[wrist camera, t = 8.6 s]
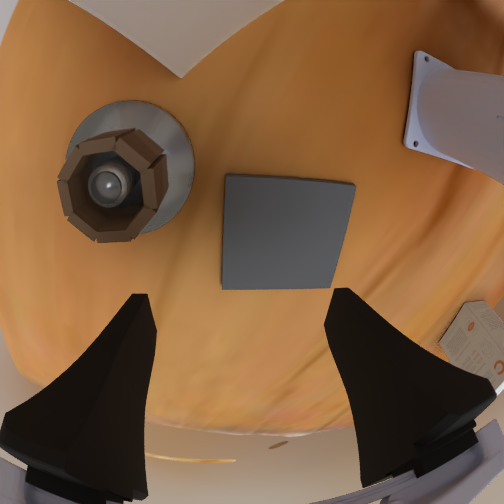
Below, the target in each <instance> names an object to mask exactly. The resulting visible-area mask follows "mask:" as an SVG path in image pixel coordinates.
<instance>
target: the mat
mask: <svg viewBox="0 0 504 504" xmlns="http://www.w3.org/2000/svg"><path fill="white" fill-rule="evenodd" d="M355 191H356V185H355V184H353V183H347V182H338V181H329V180H319V179H308V178H296V177H282V176H267V175H247V174H226V180H225V202H224V228H223V261H222V290H256V289H315V288H330V287H331V283H332V280H333V277H334V273H335V270H336V266H337V263H338V259H339V256H340V252H341V248H342V244H343V241H344V237H345V233H346V229H347V225H348V221H349V217H350V213H351V208H352V204H353V200H354V195H355Z"/></svg>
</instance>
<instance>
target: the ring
mask: <svg viewBox="0 0 504 504" xmlns="http://www.w3.org/2000/svg"><path fill="white" fill-rule="evenodd" d="M108 151H115V152H116V153H117V154H118V155H120V156H121V157H122V158H123V159H124V160H126V161H127V162H128V163H129V164H130V165H132V166H133V167H134V168H135V169H136V170H138V171H139V172H140V176H141V184H142V192H143V200H144V203H143V204H142V205H140V206H127V207H111V208H107V207H103V206H100V205H99V204H97V203H96V202H95V201H94V200H93V199H92V197H91V196H90V193H89V190H88V180H89V177H90V175H91V173H92V172H93V167H92V164H93V163H94V161H95V160H96V158H97V157H98V155H99V154H100V153H101V152H108ZM163 151H164V149H162V148H161V147H160V146H159V145H158V144H157V143H155V142H154V141H153V140H152V139H151V138H150V137H148V136H147V135H146V134H145V133H144V132H142V131H141V130H140V129H138V130H135V128H130V129H123V130H116V131H110V132H104V133H102V134H99V135H97V136H94V137H92V138H89V139H87V140H85V141H82V142H80V143H79V144H78V145H76V146H75V147H74V149H73V150H72V152H71V154H70V155H69V157H68V159H67V161H66V162H65V164H64V166H63V168H62V170H61V171H60V173H59V175H58V178H59V179H60V180H58V181H57V184H58V189H59V194H60V199H61V203H62V207H63V211H64V215H65V216H69V217H68V219H67V220H68V221H69V222H70V223H71V224H72V225H74V226H75V227H76V228H77V229H79V230H80V231H81V232H82V233H84V234H85V235H86V236H87V237H89V238H90V239H91V240H92V241H95V239H96V238H97V242H98V243H108V242H127V241H131V240H132V238H133V239H135V238H136V237H137V236H138V234H139V233H140V232H141V231H142V229H143V228H144V227H145V226H146V225H147V223H148V222H149V221H150V220H151V219H152V217H153V216H154V215H155V214H156V213H157V211H158V209H159V206H160V204H161V202H162V200H163V199H164V197H165V195H166V193H167V191H168V190H167V189H168V187H169V183H168V170H167V156H166V154H162V152H163Z"/></svg>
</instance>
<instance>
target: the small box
mask: <svg viewBox="0 0 504 504" xmlns="http://www.w3.org/2000/svg"><path fill="white" fill-rule="evenodd" d="M439 345H440V346H441V348H442V349H443V351H444V352H445V354H446V356H447V357H448V359H449V360H450V362H451V364H452V365H454V366H456V367H458V368H460V369H463V370H465V371H467V372H470V373H473V374H476V375H479V376H482V377H484V378H487V379H489V381H490V382H491V384H492V386H493V388H494V390H495V392H496V393H497V395H498V394H499V393H500V392H501V391H502V390H503V389H504V323H503V321H502V320H501V319H500V318H499V316H498V315H497V314H496V313H495V312H494V311H493V309H492V308H491V307H490V306H489V305H488V303H487V302H486V301H484V300H482V301H474V302H467V303H464V305H463V306H462V308H461V310H460V311H459V313H458V315H457V316H456V318H455V319H454V321H453V322H452V324H451V325H450V327H449V328H448V330H447V331H446V333H445V334H444V336H443V337H442V339H441V340H440V341H439Z"/></svg>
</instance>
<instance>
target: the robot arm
mask: <svg viewBox="0 0 504 504" xmlns="http://www.w3.org/2000/svg"><path fill="white" fill-rule="evenodd" d="M425 58H426V61H425ZM414 141H415V145H413V143H414ZM404 145H405V147H407V148H409V149H413V150H416V151H420V152H423V153H427V154H430V155H433V156H437V157H440V158H443V159H446V160H449V161H452V162H455V163H458V164H460V165H463V166H466V167H469V168H471V169H476V170H478V171H480V172H482V173H484V174H485V175H487V176H489V177H491V178H493V179H495V180H496V181H498V182H500V183H502V184H503V185H504V76H500V75H495V74H488V73H481V72H473V71H464V70H456V69H454V68H452V67H451V66H449V65H447V64H446V63H444V62H442V61H440V60H438V59H436V58H435V57H433V56H431V55H429V54H427V53H425V52H423V51H416V52H415V54H414V67H413V78H412V87H411V96H410V103H409V111H408V117H407V123H406V129H405V135H404ZM324 327H325V332H326V336H327V340H328V344H329V347H330V350H331V352H332V355H333V358H334V360H335V363H336V365H337V368H338V371H339V373H340V376H341V378H342V381H343V384H344V386H345V389H346V392H347V395H348V398H349V402H350V406H351V411H352V415H353V420H354V425H355V430H356V436H357V443H358V451H359V460H360V475H361V476H360V478H361V483H362V487H363V488H365V487H368V486H371V485H373V484H377V483H379V482H382V481H385V480H387V479H390V478H392V477H393V478H392V479H390V480H387V481H385V482H382V483H379V484H377V485H374V486H371V487H368V488H366V489H362V490H359V491H356V492H353V493H350V494H346V495H343V496H339V497H335V498H332V499H328V500H323V501H319V502H315V503H310V504H368V503H371V502H374V501H377V500H379V499H382V498H383V499H382V500H381V502H380V504H469V503H470V502H471V501H473V499H474V498H476V496H477V495H479V494H480V493H481V492H482V490H484V489H485V488H486V487H487V485H489V484H490V483H491V481H492V480H493V479H495V478H496V477H497V476H498V475H499V474H500V472H502V471H503V470H504V435H503V433H502V431H501V429H500V427H499V424H498V422H497V420H496V419H494V420H492V421H491V422H489V423H488V424H487V425H486V426H484V427H483V428H481V429H480V430H478V431H477V432H476V433H475V432H474V430H473V428H474V427H476V422H475V420H474V419H475V418H476V417H477V416H478V415H479V414H480V413H482V412H483V411H484V410H485V409H486V408H487V407H488V406H489V405H490V404H491V403H492V402H493V401H494V400H495V399H496V397H497V393H496V392H495V390H494V388H493V386H492V384H491V382H490V381H489V379H487V378H484V377H482V376H479V375H476V374H473V373H470V372H467V371H465V370H463V369H460V368H458V367H456V366H454V365H452V364H450V363H448V362H446V361H444V360H442V359H440V358H438V357H437V356H435V355H433V354H431V353H430V352H428V351H427V350H425V349H423V348H422V347H420V346H419V345H417V344H416V343H415V342H413V341H412V340H410V339H409V338H407V337H406V336H405V335H404V334H402V333H401V332H400V331H398V330H397V329H396V328H395V327H393V326H392V325H391V324H390V323H389V322H387V321H386V320H385V319H384V318H383V317H382V316H380V315H379V314H378V313H377V312H376V311H375V310H373V309H372V308H371V307H370V306H369V305H368V304H367V303H366V302H364V301H363V300H362V299H361V298H360V297H359V296H358V295H357V294H355V293H354V292H353V291H352V290H351V289H349V288H334V292H333V295H332V299H331V302H330V306H329V309H328V313H327V316H326V319H325V322H324ZM156 335H157V329H156V326H155V322H154V318H153V314H152V311H151V307H150V302H149V298H148V294H132V295H131V296H130V297H129V298H128V300H127V301H126V302H125V303H124V305H123V306H122V307H121V308H120V310H119V311H118V312H117V314H116V315H115V316H114V317H113V319H112V320H111V321H110V322H109V324H108V325H107V326H106V327H105V329H104V330H103V331H102V332H101V334H100V335H99V336H98V337H97V338H96V339H95V341H94V342H93V343H92V344H91V345H90V346H89V347H88V349H87V350H86V351H85V352H84V353H83V354H82V355H81V356H80V357H79V358H78V359H77V360H76V361H75V362H74V363H73V364H72V365H71V366H70V367H69V368H68V369H67V370H66V371H65V372H63V373H62V374H61V375H60V376H59V377H58V378H56V379H55V380H54V381H53V382H52V383H51V384H49V385H48V386H47V387H45V388H44V389H43V390H42V391H40V392H39V393H37V394H36V395H34V396H33V397H31V398H30V399H29V400H27V401H25V402H24V403H22V404H21V405H19V406H17V407H15V408H14V409H12V410H10V411H9V412H6V413H5V417H4V419H3V423H2V426H1V430H0V447H1V448H2V449H3V450H5V451H6V452H8V453H9V454H10V455H12V456H14V457H15V458H17V459H18V460H20V461H22V462H23V463H25V464H27V465H28V468H27V471H26V470H24V469H22V468H20V467H18V466H16V465H14V464H12V463H10V462H8V461H7V460H5V459H3V458H1V457H0V504H123V500H124V501H129V502H132V501H133V499H135V500H143V499H145V498H146V497H147V496H148V490H147V481H146V471H145V454H144V422H145V406H146V399H147V393H148V387H149V382H150V377H151V372H152V366H153V361H154V356H155V348H156Z"/></svg>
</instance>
